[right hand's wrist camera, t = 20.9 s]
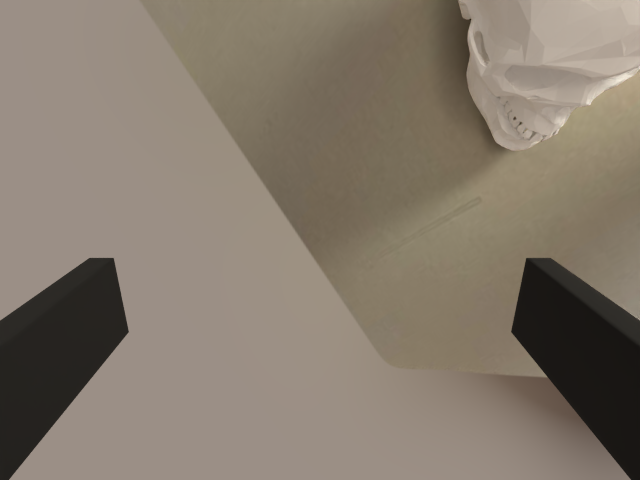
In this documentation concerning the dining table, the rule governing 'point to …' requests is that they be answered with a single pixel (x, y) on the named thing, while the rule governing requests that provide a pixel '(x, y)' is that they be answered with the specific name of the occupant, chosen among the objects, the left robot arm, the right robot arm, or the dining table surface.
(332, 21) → the dining table surface
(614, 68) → the skull
